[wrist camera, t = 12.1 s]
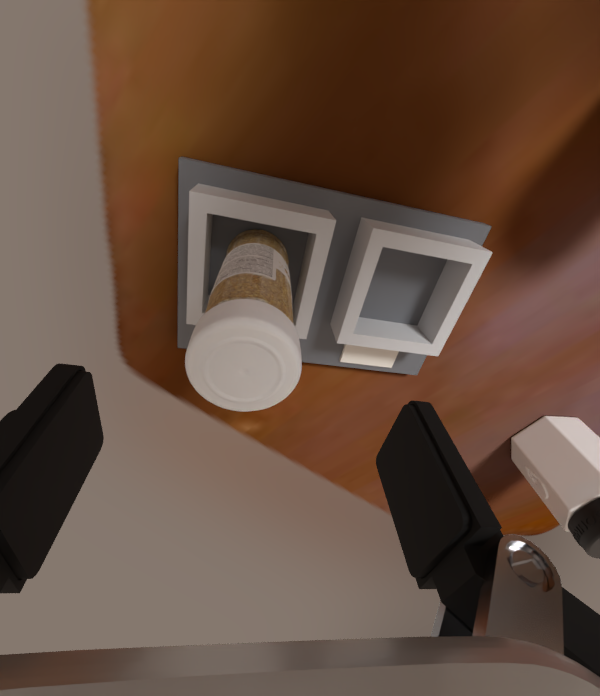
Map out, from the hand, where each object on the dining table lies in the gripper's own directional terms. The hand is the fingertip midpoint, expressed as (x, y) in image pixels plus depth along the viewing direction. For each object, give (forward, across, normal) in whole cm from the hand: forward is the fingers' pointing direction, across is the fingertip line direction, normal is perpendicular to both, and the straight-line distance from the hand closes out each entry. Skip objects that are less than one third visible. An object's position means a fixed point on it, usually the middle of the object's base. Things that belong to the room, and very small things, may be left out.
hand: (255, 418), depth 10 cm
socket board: (+17, -5, +2) cm, 18 cm away
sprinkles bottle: (+16, 0, +1) cm, 16 cm away
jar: (+17, -37, +18) cm, 45 cm away
